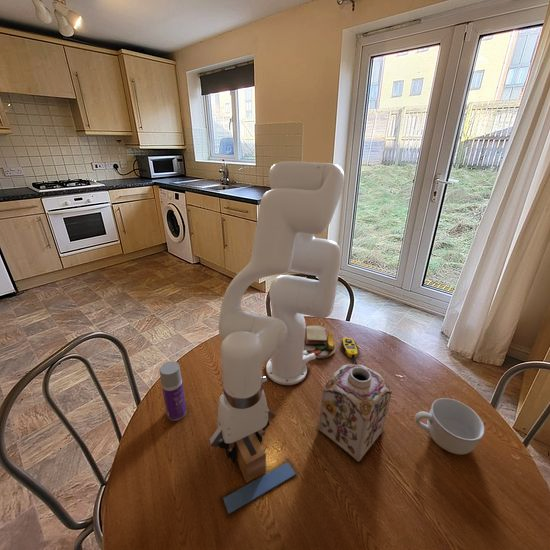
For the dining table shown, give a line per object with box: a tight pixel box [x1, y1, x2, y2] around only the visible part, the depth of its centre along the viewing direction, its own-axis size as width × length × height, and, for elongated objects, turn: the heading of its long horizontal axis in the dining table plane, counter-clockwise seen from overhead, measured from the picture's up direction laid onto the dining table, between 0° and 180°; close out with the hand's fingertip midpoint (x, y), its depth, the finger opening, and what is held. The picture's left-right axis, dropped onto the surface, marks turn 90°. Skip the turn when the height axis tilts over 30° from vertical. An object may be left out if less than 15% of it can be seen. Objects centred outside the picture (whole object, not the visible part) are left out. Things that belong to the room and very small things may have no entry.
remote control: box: [341, 337, 359, 365], centre depth 97 cm, size 5×2×15 cm
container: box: [159, 360, 187, 421], centre depth 72 cm, size 5×5×15 cm
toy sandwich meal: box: [304, 325, 337, 359], centre depth 100 cm, size 12×14×5 cm
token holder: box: [234, 433, 267, 483], centre depth 64 cm, size 12×4×6 cm, turn 29°
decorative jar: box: [318, 363, 393, 462], centre depth 68 cm, size 12×12×18 cm
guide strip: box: [222, 461, 297, 515], centre depth 59 cm, size 15×3×1 cm, turn 119°
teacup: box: [414, 397, 486, 455], centre depth 69 cm, size 14×11×8 cm
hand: (244, 449), depth 65 cm, fingers open, 5 cm apart
